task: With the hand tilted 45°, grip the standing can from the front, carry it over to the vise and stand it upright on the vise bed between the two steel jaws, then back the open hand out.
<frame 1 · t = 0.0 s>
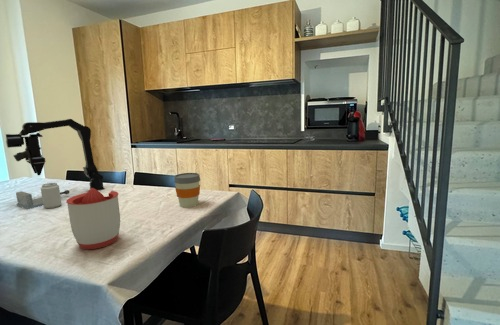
hand: (37, 174, 146), 15 cm above the table, tool pointing down, fingers open, 9 cm apart
citrus juicer: (100, 241, 96), on the table
vise: (39, 203, 143), on the table
reusable coffee cup: (189, 204, 134), on the table
can: (53, 206, 137), on the table
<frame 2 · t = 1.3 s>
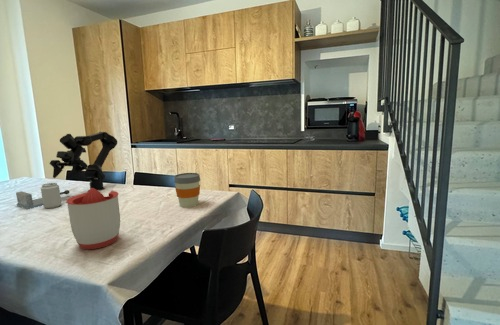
hand: (61, 177, 142), 13 cm above the table, tool tilted 45°, fingers open, 9 cm apart
nothing on the table moved.
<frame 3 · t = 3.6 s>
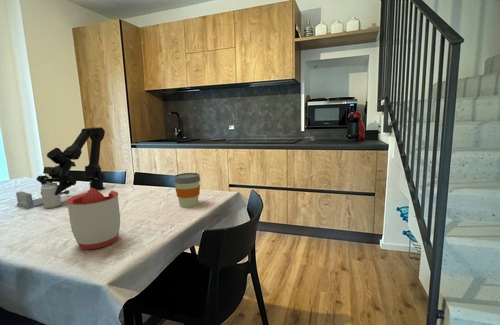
hand: (48, 194, 134), 7 cm above the table, tool tilted 45°, fingers closed on can, 7 cm apart
can: (53, 206, 137), on the table, touching gripper
everything else where it was.
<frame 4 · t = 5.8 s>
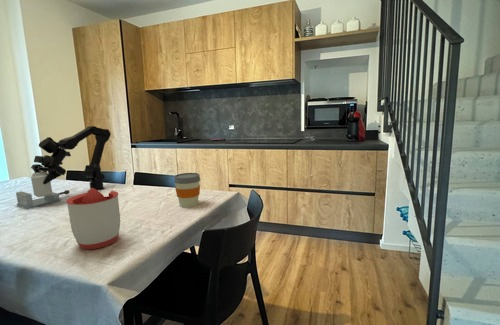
hand: (38, 183, 136), 12 cm above the table, tool tilted 45°, fingers closed on can, 7 cm apart
can: (43, 195, 138), point 5 cm above the table, touching gripper
everything else where it was.
when the fingers open (9 cm above the table, at t = 7.7 s): can stays where it is, resting on vise.
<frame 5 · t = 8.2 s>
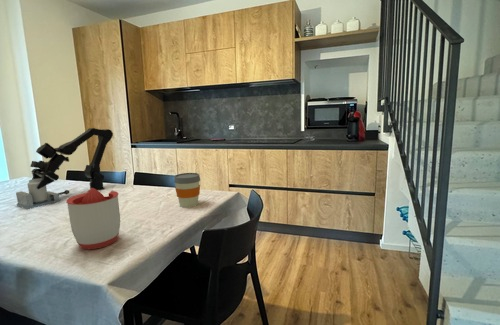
hand: (33, 187, 140), 9 cm above the table, tool tilted 45°, fingers open, 9 cm apart
can: (39, 201, 143), point 1 cm above the table, touching vise
everything else where it was.
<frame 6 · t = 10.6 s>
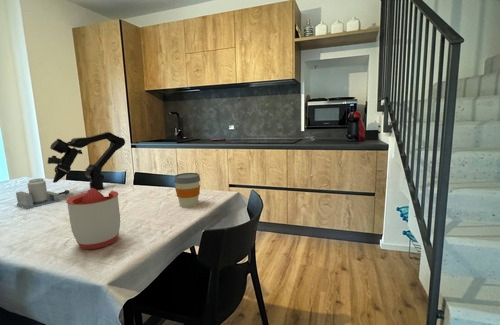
hand: (54, 182, 149), 9 cm above the table, tool tilted 35°, fingers open, 9 cm apart
nothing on the table moved.
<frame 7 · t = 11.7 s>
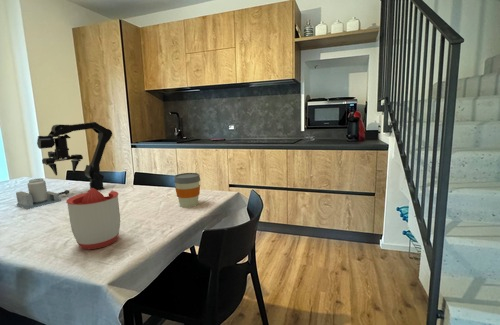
hand: (65, 173, 154), 13 cm above the table, tool pointing down, fingers open, 9 cm apart
nothing on the table moved.
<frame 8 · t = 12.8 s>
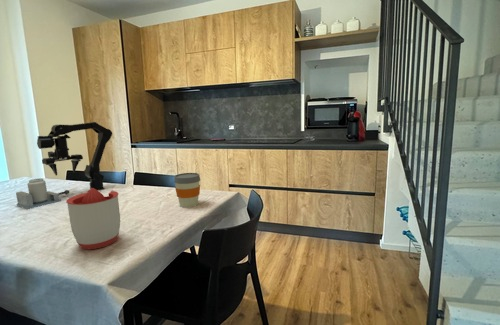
hand: (65, 173, 154), 13 cm above the table, tool pointing down, fingers open, 9 cm apart
nothing on the table moved.
at the end: can 0.2 cm off-centre on the vise, point 0.8 cm above the vise's base; can tilted 0°; the gripper is holding nothing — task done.
